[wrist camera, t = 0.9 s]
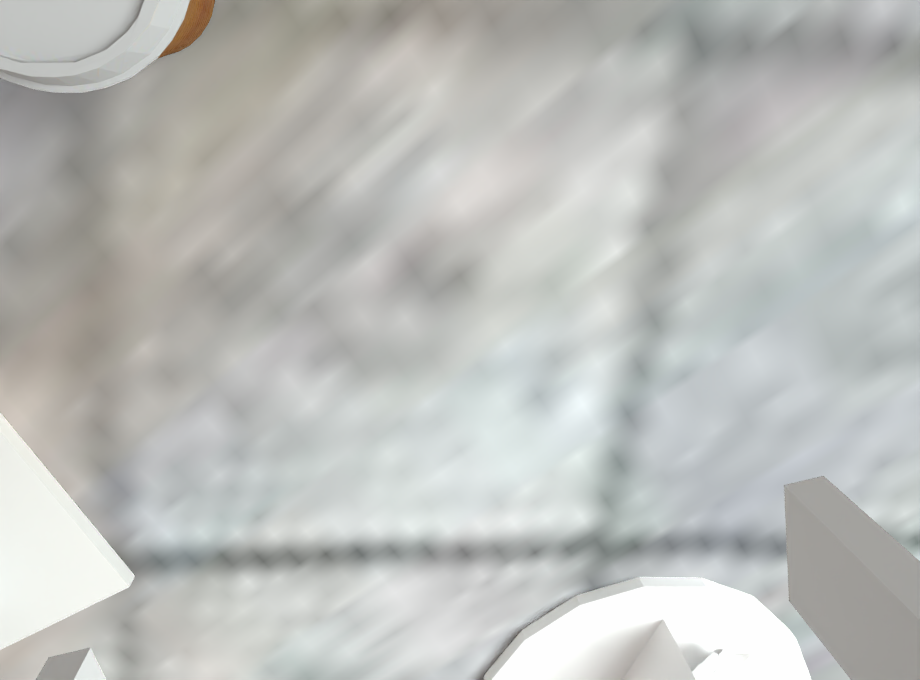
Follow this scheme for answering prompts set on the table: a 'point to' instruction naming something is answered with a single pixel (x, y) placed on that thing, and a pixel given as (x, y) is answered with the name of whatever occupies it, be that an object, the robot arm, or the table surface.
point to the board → (46, 547)
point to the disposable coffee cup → (92, 39)
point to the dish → (655, 636)
